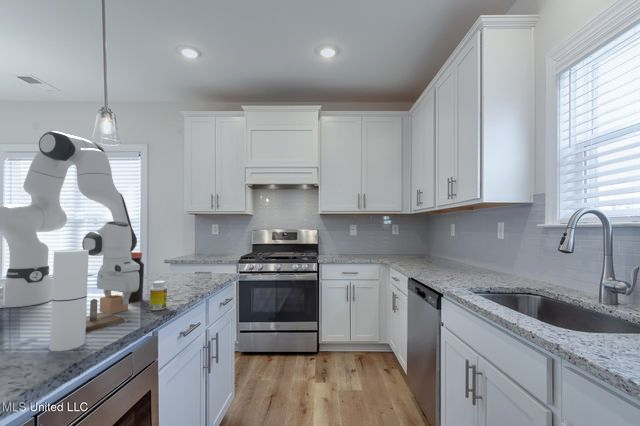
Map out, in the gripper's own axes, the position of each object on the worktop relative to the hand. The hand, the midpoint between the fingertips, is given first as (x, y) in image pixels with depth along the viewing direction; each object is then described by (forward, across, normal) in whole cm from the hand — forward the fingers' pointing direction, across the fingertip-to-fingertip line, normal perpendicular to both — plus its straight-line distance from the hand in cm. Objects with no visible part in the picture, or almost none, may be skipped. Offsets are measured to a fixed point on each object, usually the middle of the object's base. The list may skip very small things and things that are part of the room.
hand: (116, 302), depth 110 cm
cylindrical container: (+3, +21, -25) cm, 33 cm away
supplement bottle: (+3, +11, +8) cm, 14 cm away
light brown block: (+3, -1, 0) cm, 3 cm away
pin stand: (+3, +9, -12) cm, 16 cm away
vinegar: (+3, -9, +12) cm, 15 cm away
